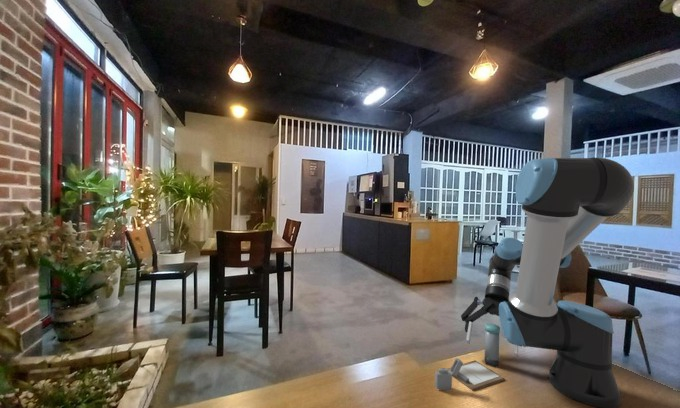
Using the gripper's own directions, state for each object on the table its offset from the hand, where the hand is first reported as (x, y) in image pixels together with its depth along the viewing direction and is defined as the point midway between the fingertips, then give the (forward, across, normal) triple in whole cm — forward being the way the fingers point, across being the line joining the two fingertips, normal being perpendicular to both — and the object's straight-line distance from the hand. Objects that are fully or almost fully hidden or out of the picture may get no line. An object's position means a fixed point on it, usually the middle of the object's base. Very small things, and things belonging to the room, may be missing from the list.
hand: (490, 348), depth 90 cm
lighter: (+18, +8, +10) cm, 22 cm away
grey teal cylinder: (+3, 0, -5) cm, 6 cm away
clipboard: (+10, +3, +3) cm, 11 cm away
